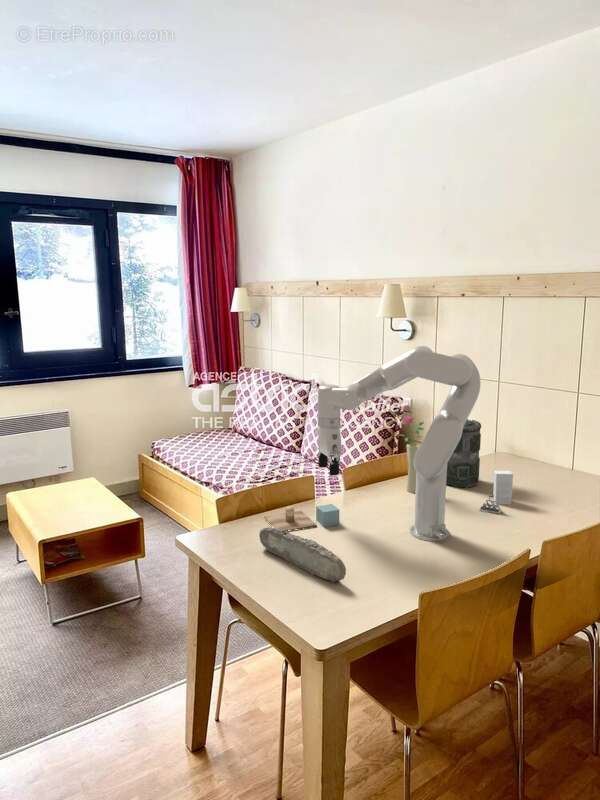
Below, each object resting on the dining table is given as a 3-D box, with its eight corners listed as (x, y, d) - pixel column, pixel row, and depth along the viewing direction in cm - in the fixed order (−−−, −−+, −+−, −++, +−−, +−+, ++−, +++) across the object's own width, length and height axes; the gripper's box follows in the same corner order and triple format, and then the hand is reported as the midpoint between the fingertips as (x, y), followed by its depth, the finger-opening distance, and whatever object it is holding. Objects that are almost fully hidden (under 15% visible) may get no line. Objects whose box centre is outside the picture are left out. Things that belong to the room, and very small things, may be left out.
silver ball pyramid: (509, 509, 213) (511, 489, 212) (504, 517, 206) (505, 496, 205) (484, 505, 218) (486, 485, 217) (478, 512, 211) (479, 492, 209)
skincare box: (508, 500, 221) (510, 470, 219) (511, 504, 217) (513, 474, 215) (492, 500, 222) (493, 470, 220) (494, 504, 218) (496, 473, 215)
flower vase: (407, 500, 223) (409, 410, 216) (385, 491, 233) (387, 405, 226) (429, 494, 229) (432, 407, 223) (407, 485, 239) (409, 402, 233)
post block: (316, 528, 197) (316, 512, 196) (277, 535, 192) (277, 518, 191) (301, 514, 210) (300, 498, 209) (264, 520, 204) (263, 504, 203)
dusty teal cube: (339, 526, 199) (339, 509, 198) (323, 529, 197) (323, 512, 196) (331, 520, 204) (331, 503, 203) (316, 522, 202) (316, 506, 201)
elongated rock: (254, 553, 179) (253, 522, 178) (267, 547, 183) (266, 517, 181) (340, 593, 155) (340, 558, 153) (353, 586, 159) (353, 552, 157)
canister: (431, 479, 247) (433, 415, 242) (461, 474, 253) (463, 411, 248) (456, 490, 233) (459, 422, 228) (486, 485, 239) (490, 418, 234)
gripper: (349, 426, 188) (349, 477, 192) (329, 415, 204) (329, 462, 208) (328, 428, 186) (328, 479, 189) (309, 417, 202) (309, 464, 205)
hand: (328, 470), depth 198 cm, fingers open, 9 cm apart
